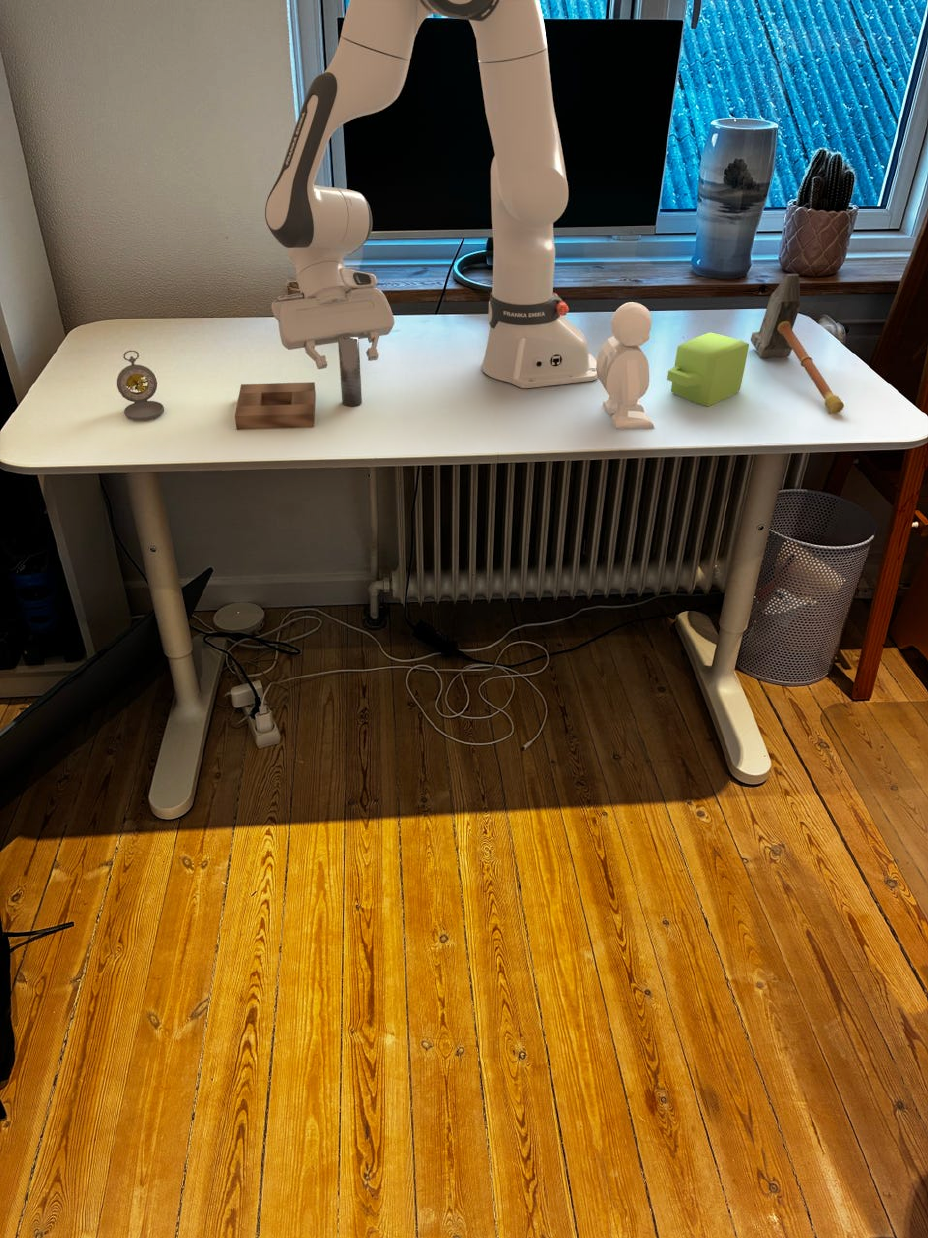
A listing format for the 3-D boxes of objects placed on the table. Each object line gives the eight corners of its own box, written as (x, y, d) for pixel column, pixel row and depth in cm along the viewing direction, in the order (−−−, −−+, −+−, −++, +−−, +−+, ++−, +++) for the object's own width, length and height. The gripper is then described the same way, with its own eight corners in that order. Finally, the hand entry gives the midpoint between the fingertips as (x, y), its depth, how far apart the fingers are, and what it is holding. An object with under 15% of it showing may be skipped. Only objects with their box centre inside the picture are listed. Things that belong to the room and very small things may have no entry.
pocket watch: (144, 425, 161) (132, 369, 155) (109, 413, 165) (97, 358, 159) (179, 408, 167) (169, 353, 161) (145, 397, 170) (134, 343, 164)
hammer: (838, 364, 161) (773, 267, 181) (807, 440, 174) (749, 342, 193) (872, 362, 162) (803, 266, 181) (838, 438, 174) (777, 341, 194)
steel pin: (361, 398, 172) (358, 332, 164) (362, 406, 169) (358, 340, 162) (342, 398, 171) (337, 333, 164) (342, 406, 168) (337, 340, 161)
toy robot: (657, 432, 162) (674, 316, 150) (606, 435, 161) (619, 318, 149) (635, 398, 173) (650, 288, 161) (587, 400, 172) (598, 289, 160)
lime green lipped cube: (708, 369, 185) (717, 321, 179) (753, 384, 179) (763, 335, 173) (652, 395, 175) (660, 345, 169) (698, 412, 169) (707, 361, 163)
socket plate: (315, 395, 172) (314, 382, 171) (314, 427, 162) (313, 413, 160) (242, 397, 171) (241, 384, 169) (236, 429, 161) (234, 415, 159)
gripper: (270, 288, 160) (294, 364, 159) (383, 273, 168) (406, 346, 167) (266, 306, 166) (288, 380, 165) (375, 291, 173) (397, 362, 172)
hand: (348, 363), depth 166 cm, fingers open, 8 cm apart
